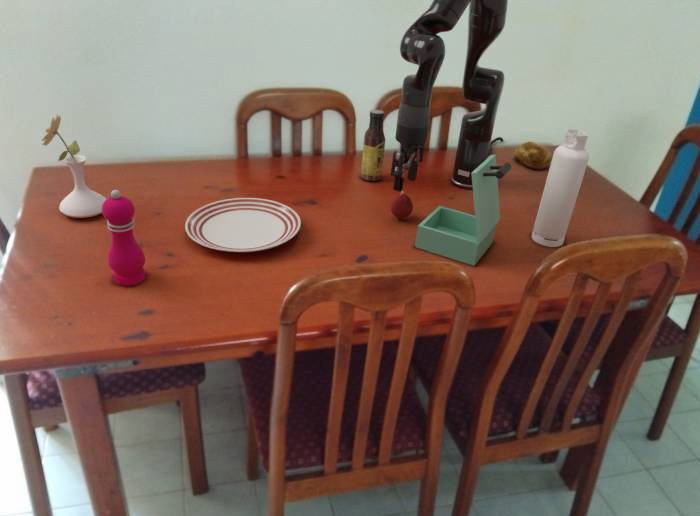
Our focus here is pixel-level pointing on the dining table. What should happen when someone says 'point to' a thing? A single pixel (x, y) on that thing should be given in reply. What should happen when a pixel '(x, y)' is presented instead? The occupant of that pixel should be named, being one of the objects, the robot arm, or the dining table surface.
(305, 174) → the dining table surface
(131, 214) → the pepper mill
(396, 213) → the onion
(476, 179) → the box lid
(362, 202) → the dining table surface
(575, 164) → the bottle
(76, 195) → the flower in vase
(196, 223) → the dinner plate
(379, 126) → the sauce bottle
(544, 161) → the bread roll
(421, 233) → the teal open box
